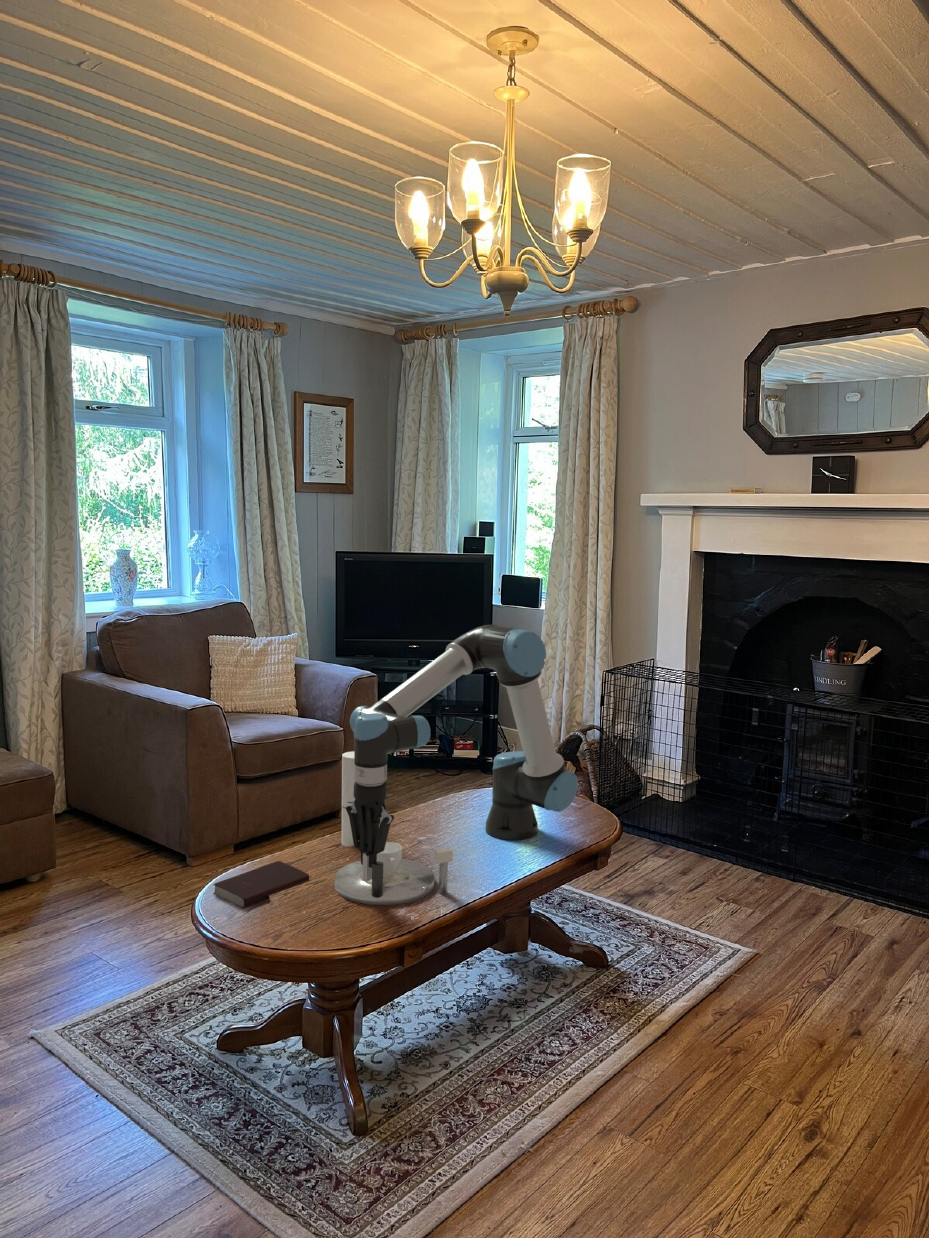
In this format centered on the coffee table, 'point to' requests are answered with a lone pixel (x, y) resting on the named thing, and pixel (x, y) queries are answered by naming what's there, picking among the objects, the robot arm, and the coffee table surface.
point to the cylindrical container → (347, 796)
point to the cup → (390, 858)
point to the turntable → (385, 883)
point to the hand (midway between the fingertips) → (368, 878)
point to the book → (259, 883)
